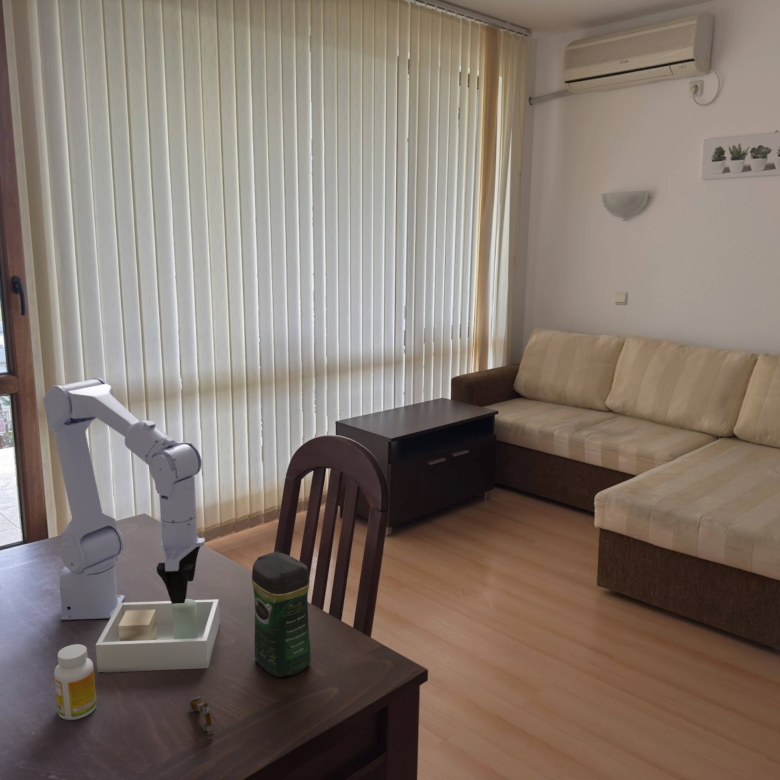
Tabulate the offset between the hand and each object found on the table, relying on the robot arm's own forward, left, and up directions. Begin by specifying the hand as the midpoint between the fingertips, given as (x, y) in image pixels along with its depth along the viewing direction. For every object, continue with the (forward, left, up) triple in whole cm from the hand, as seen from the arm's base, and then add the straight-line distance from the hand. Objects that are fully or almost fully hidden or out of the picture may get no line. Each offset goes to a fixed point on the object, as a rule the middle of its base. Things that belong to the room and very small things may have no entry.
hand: (182, 591), depth 123 cm
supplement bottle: (-13, -16, -11) cm, 23 cm away
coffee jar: (+17, -6, -11) cm, 21 cm away
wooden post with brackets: (+6, -20, -11) cm, 24 cm away
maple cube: (-8, 0, -10) cm, 12 cm away
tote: (-4, 0, -10) cm, 11 cm away
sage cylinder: (0, 0, -10) cm, 10 cm away
